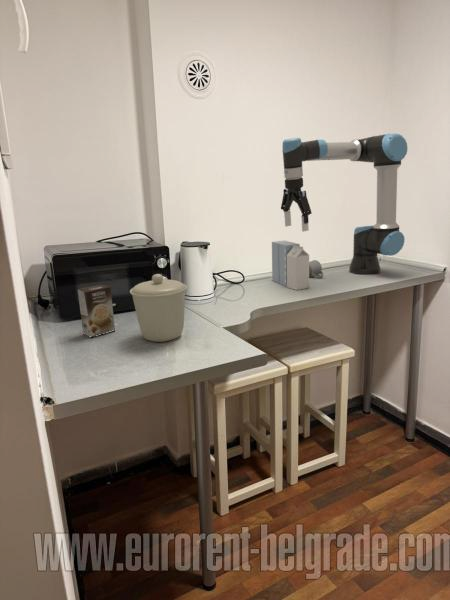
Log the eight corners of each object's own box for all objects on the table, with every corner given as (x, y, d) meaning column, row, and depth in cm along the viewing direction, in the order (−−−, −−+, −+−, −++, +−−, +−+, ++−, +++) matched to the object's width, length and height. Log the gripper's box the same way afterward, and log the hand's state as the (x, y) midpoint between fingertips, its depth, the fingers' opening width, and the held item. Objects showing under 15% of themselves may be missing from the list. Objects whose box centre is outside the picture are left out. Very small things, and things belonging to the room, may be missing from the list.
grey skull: (299, 276, 217) (299, 261, 214) (310, 273, 221) (310, 259, 219) (316, 280, 209) (316, 264, 206) (327, 277, 213) (327, 261, 211)
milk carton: (299, 285, 200) (299, 244, 194) (309, 288, 194) (309, 246, 188) (286, 287, 196) (286, 246, 191) (296, 290, 190) (296, 247, 185)
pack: (285, 278, 213) (284, 240, 208) (299, 284, 200) (299, 243, 195) (271, 280, 210) (271, 241, 205) (285, 286, 198) (285, 245, 193)
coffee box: (91, 338, 143) (84, 292, 139) (82, 334, 148) (76, 289, 143) (116, 331, 149) (110, 286, 145) (107, 327, 154) (101, 283, 149)
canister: (166, 350, 130) (160, 283, 124) (123, 341, 139) (115, 277, 134) (201, 332, 144) (197, 270, 139) (160, 324, 154) (154, 266, 148)
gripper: (270, 177, 188) (274, 225, 196) (302, 181, 166) (305, 235, 174) (285, 175, 190) (288, 222, 198) (319, 178, 169) (320, 231, 177)
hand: (296, 228), depth 186 cm, fingers open, 13 cm apart
